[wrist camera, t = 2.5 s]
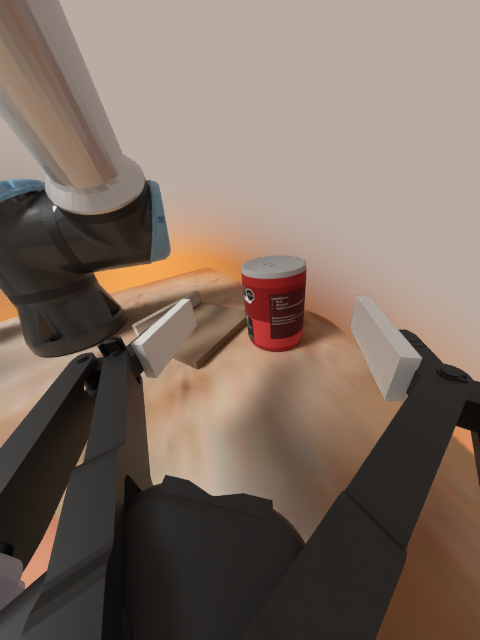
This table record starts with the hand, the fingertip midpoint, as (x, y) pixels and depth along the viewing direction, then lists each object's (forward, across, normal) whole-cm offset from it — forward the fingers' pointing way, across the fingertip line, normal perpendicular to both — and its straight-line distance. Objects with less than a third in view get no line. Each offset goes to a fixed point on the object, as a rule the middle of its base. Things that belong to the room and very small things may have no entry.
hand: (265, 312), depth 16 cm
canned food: (+10, 0, -10) cm, 14 cm away
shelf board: (+11, -13, -9) cm, 20 cm away
